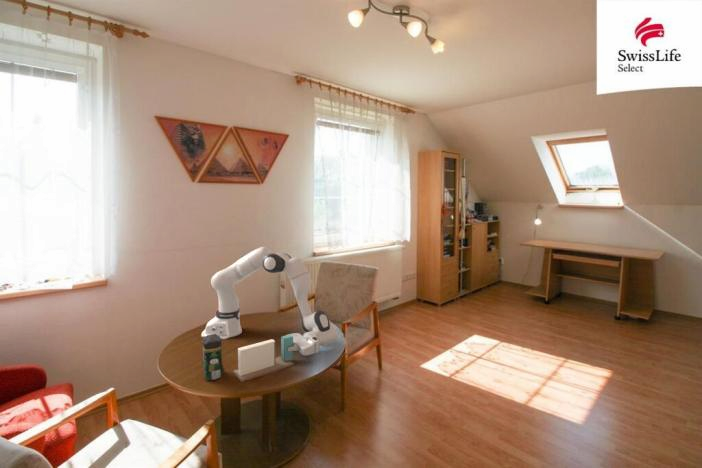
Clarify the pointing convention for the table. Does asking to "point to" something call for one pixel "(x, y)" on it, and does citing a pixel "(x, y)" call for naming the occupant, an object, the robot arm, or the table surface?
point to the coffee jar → (212, 357)
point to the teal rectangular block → (285, 343)
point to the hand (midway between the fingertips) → (285, 347)
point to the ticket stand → (258, 360)
